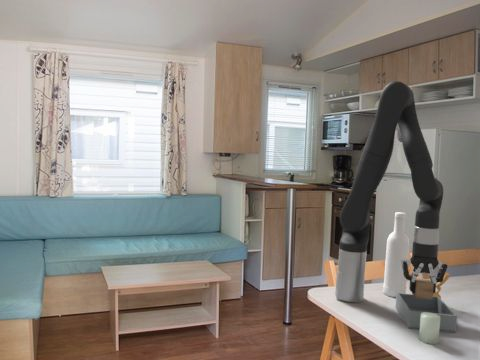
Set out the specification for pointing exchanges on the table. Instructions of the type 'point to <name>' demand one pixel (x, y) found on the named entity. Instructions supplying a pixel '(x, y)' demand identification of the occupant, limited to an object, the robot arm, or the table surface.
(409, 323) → the tote
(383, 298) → the table surface
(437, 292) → the figurine
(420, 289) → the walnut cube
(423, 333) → the sage cylinder
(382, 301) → the table surface
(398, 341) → the table surface
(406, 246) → the bottle
